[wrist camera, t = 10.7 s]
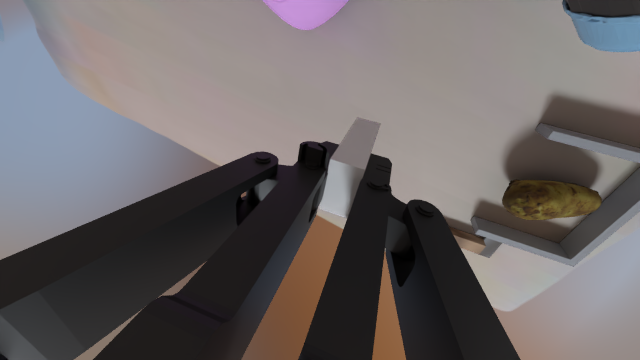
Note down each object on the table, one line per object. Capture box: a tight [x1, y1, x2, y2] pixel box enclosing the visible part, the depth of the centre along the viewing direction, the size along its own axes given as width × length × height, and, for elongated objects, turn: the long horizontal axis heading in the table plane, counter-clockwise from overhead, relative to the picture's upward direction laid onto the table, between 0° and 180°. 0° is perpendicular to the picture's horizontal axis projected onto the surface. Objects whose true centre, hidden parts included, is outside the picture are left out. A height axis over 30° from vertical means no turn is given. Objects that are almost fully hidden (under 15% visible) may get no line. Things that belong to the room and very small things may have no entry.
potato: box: [502, 180, 602, 220], centre depth 38 cm, size 8×13×8 cm, turn 69°
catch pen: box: [471, 123, 640, 267], centre depth 39 cm, size 20×16×4 cm
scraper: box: [449, 227, 502, 258], centre depth 49 cm, size 14×5×2 cm, turn 79°
